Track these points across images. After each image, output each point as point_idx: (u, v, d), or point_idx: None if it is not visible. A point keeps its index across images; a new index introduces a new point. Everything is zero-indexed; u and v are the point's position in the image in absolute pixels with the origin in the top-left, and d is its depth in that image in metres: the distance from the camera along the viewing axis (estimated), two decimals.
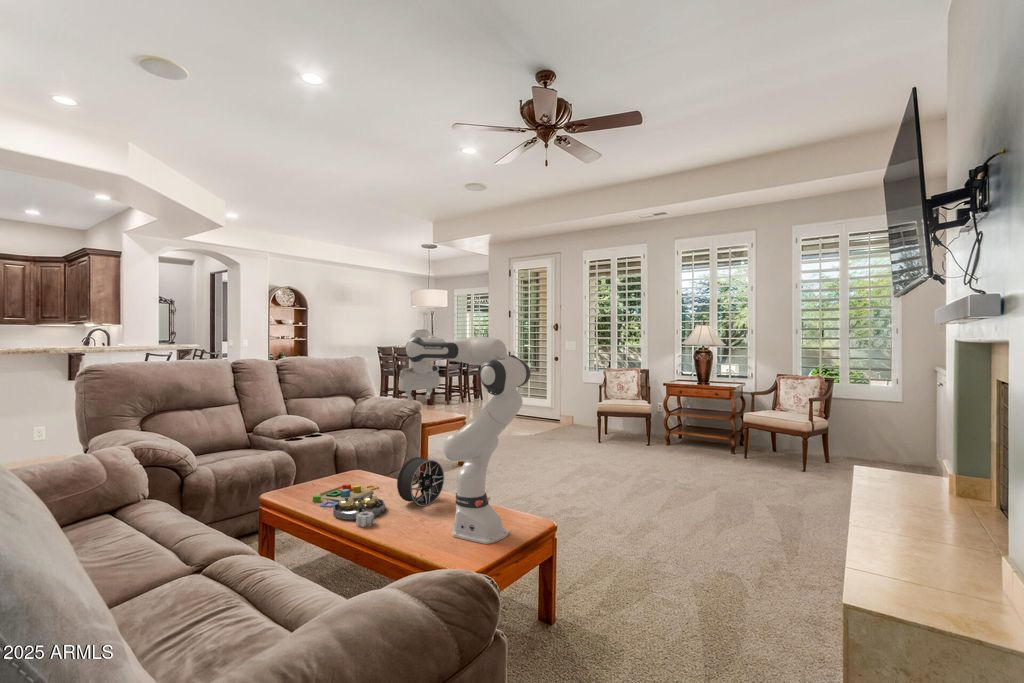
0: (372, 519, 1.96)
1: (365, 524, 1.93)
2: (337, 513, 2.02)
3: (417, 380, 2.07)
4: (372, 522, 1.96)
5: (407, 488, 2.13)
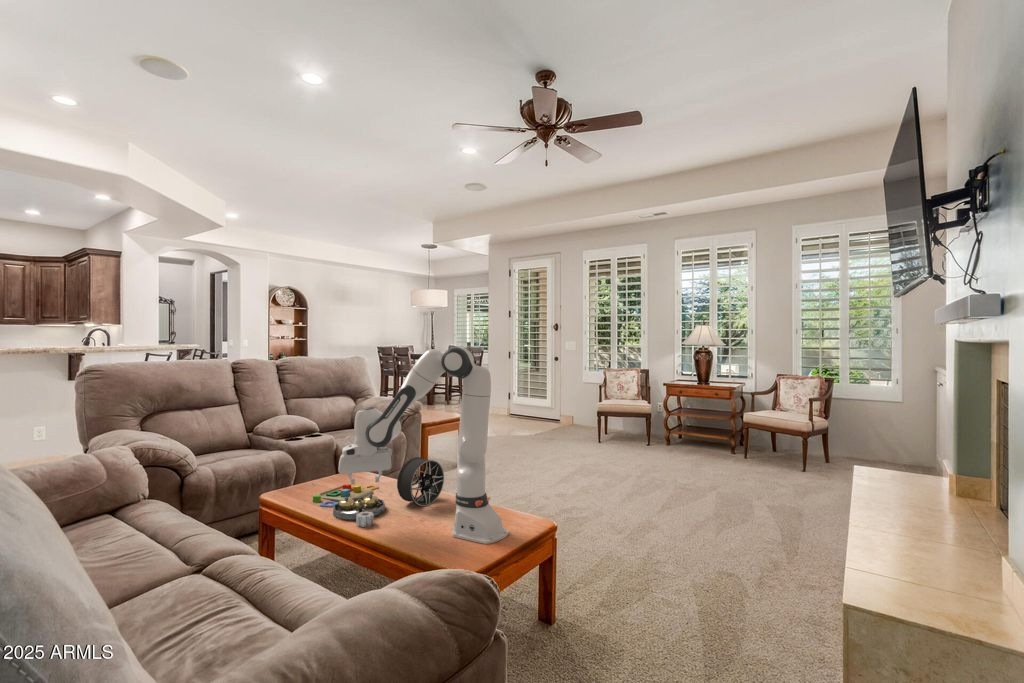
0: (372, 519, 1.96)
1: (365, 524, 1.93)
2: (337, 513, 2.02)
3: None
4: (372, 522, 1.96)
5: (407, 488, 2.13)
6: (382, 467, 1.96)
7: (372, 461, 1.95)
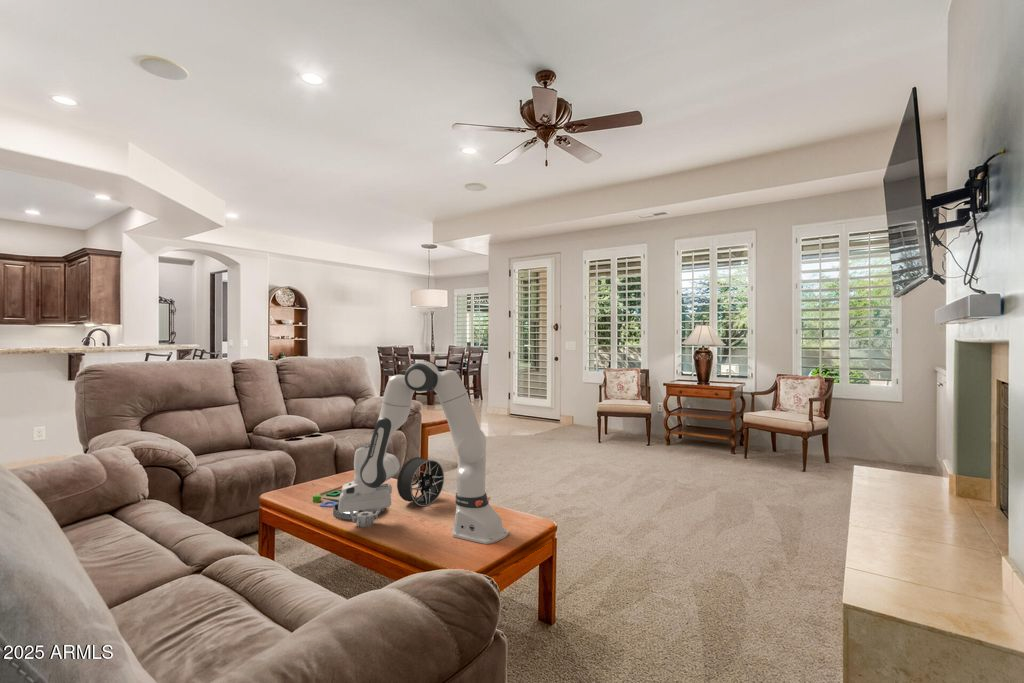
0: (372, 519, 1.96)
1: (365, 524, 1.93)
2: (337, 513, 2.02)
3: None
4: (372, 522, 1.96)
5: (407, 488, 2.13)
6: (382, 504, 1.97)
7: (372, 499, 1.95)
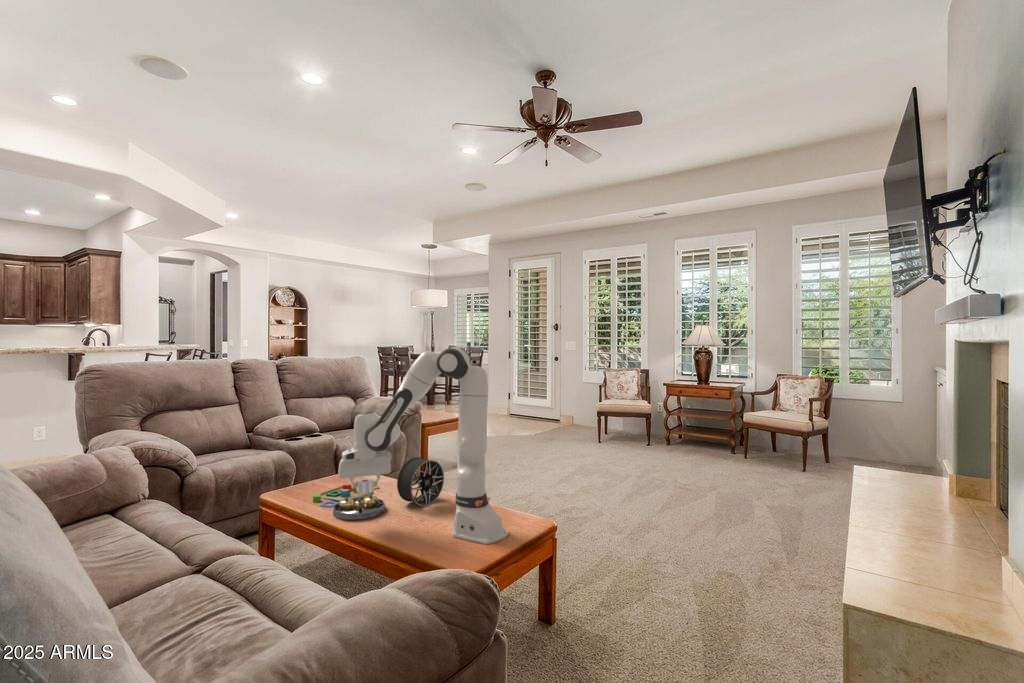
0: (372, 485, 1.96)
1: (365, 490, 1.94)
2: (337, 513, 2.02)
3: None
4: (372, 488, 1.96)
5: (407, 488, 2.13)
6: (382, 471, 1.97)
7: (372, 465, 1.96)
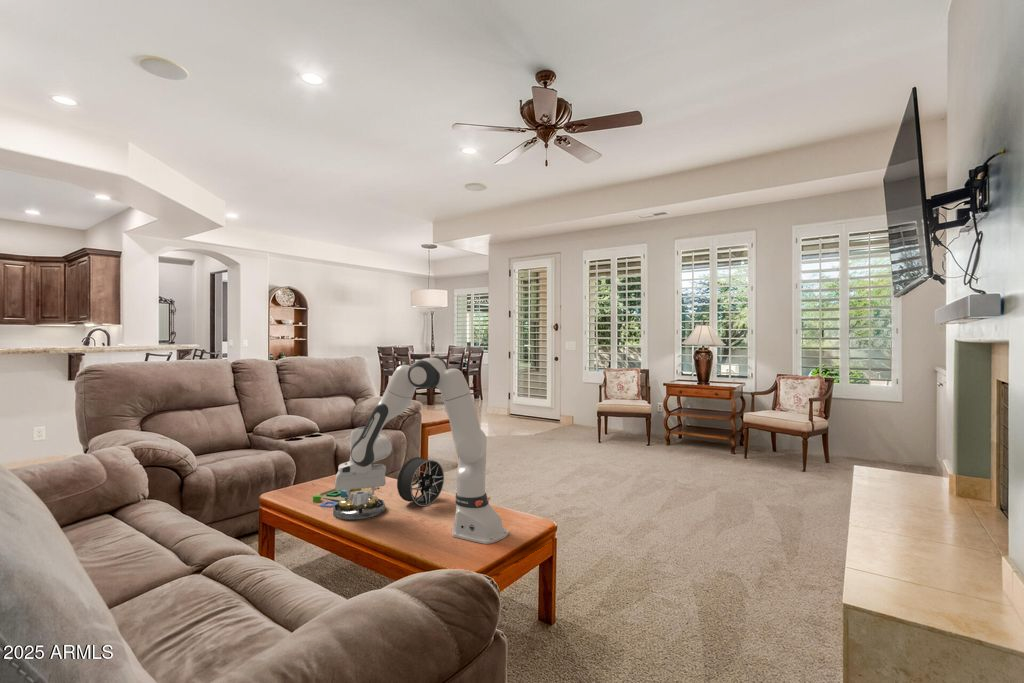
0: (367, 497, 2.05)
1: (360, 502, 2.02)
2: (337, 513, 2.02)
3: None
4: (367, 500, 2.05)
5: (407, 488, 2.13)
6: (376, 483, 2.05)
7: (367, 478, 2.04)
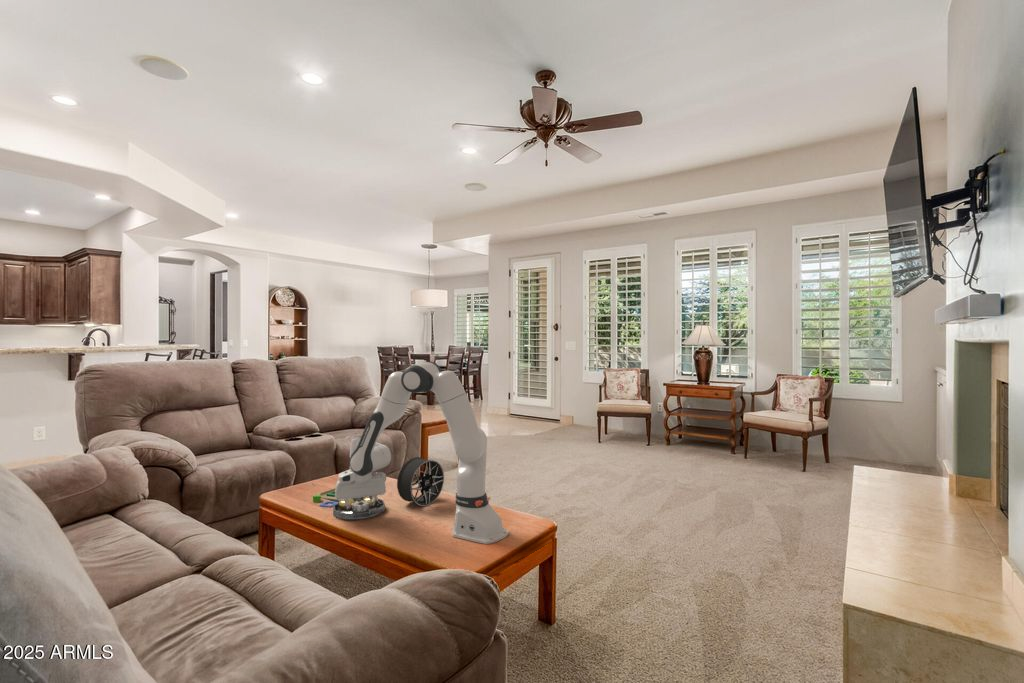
0: (367, 508, 2.05)
1: None
2: (337, 513, 2.02)
3: None
4: (367, 511, 2.05)
5: (407, 488, 2.13)
6: (376, 492, 2.05)
7: (367, 486, 2.04)
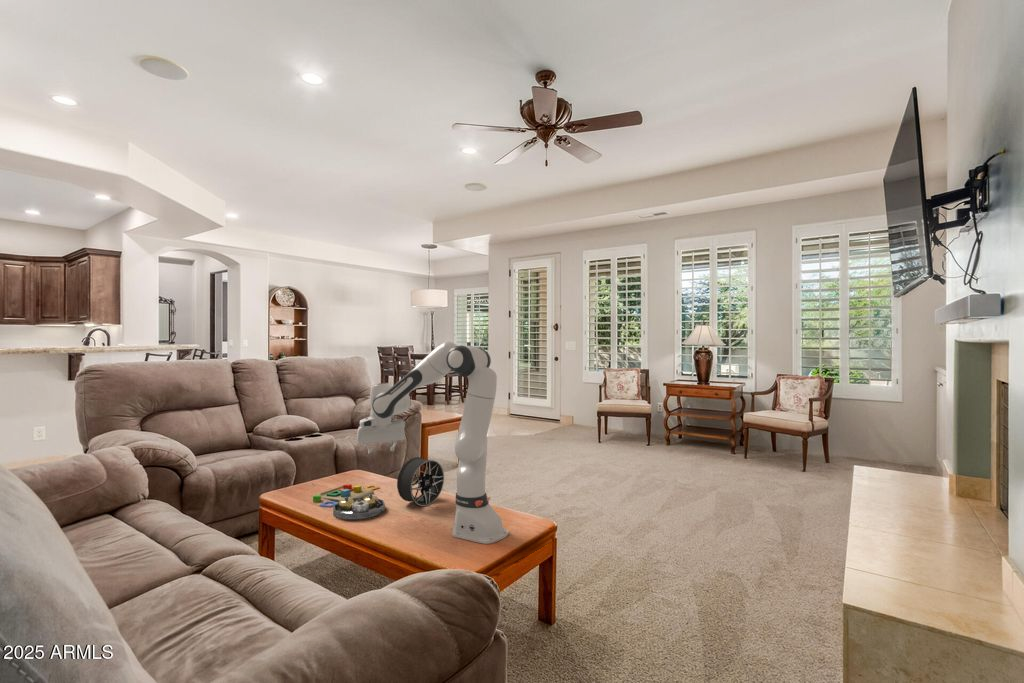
0: (367, 508, 2.05)
1: None
2: (337, 513, 2.02)
3: None
4: (367, 511, 2.05)
5: (407, 488, 2.13)
6: (396, 437, 2.13)
7: (387, 432, 2.12)
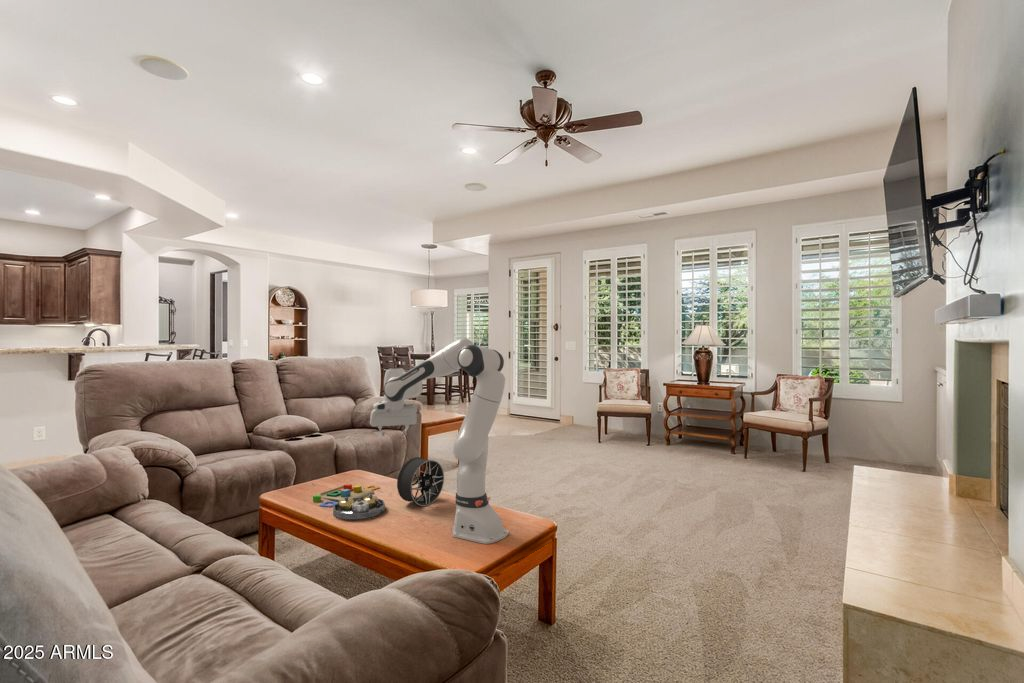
0: (367, 508, 2.05)
1: None
2: (337, 513, 2.02)
3: None
4: (367, 511, 2.05)
5: (407, 488, 2.13)
6: (408, 421, 2.18)
7: (400, 416, 2.17)
